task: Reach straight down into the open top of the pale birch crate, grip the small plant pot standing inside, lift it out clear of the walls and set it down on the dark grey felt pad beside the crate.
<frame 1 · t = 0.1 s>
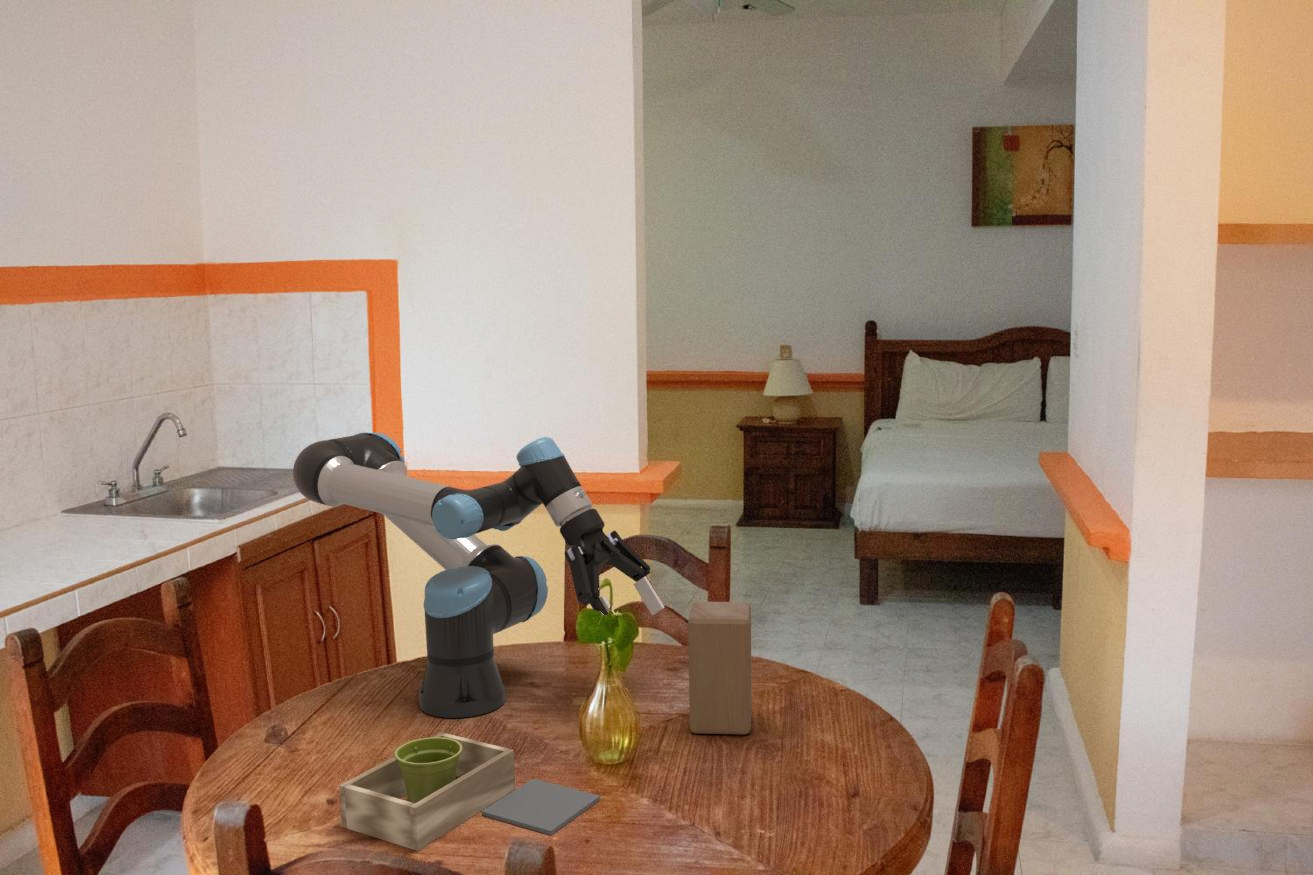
hand: (638, 621, 198), 15 cm above the table, tool tilted 35°, fingers open, 13 cm apart
crate: (431, 806, 164), on the table
pad: (541, 807, 163), on the table
plant pot: (431, 808, 164), resting in crate
wooden block: (721, 725, 192), on the table
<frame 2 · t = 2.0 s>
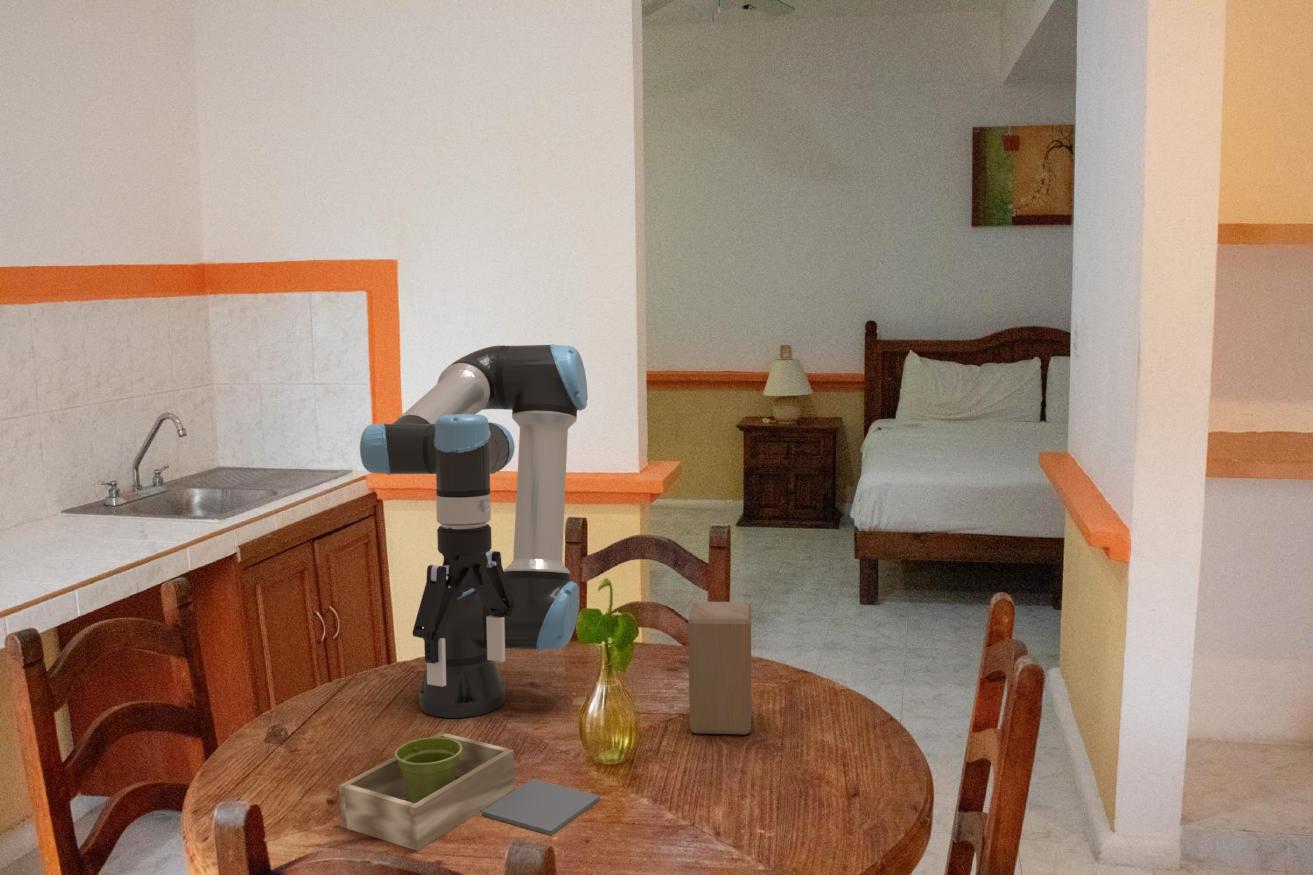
hand: (467, 672, 163), 19 cm above the table, tool pointing down, fingers open, 13 cm apart
nothing on the table moved.
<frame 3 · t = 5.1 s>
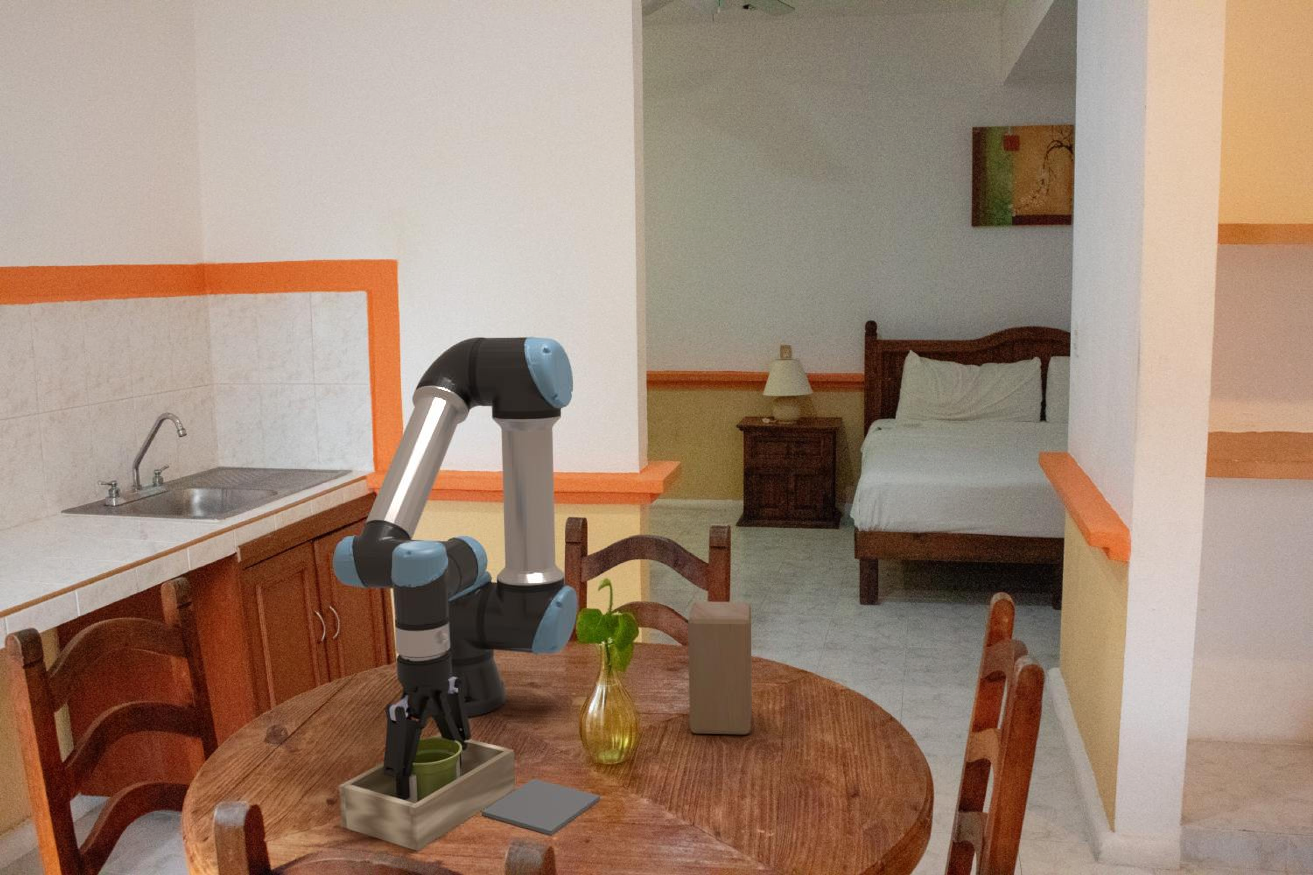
hand: (431, 804, 164), 0 cm above the table, tool pointing down, fingers closed on plant pot, 8 cm apart
plant pot: (431, 808, 164), resting in crate, touching gripper
everything else where it was.
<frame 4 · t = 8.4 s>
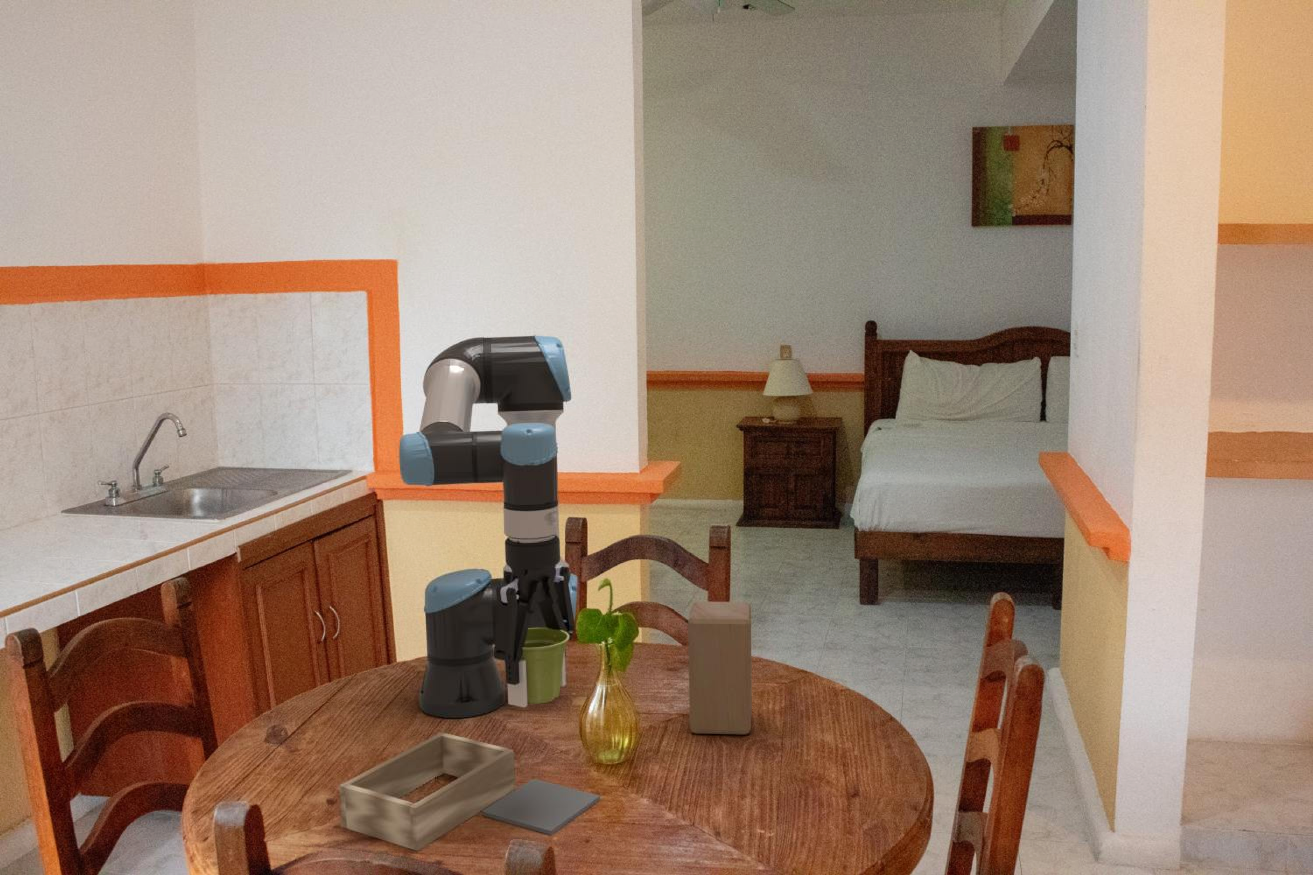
hand: (537, 693, 161), 17 cm above the table, tool pointing down, fingers closed on plant pot, 8 cm apart
plant pot: (537, 697, 161), point 16 cm above the table, touching gripper
everything else where it was.
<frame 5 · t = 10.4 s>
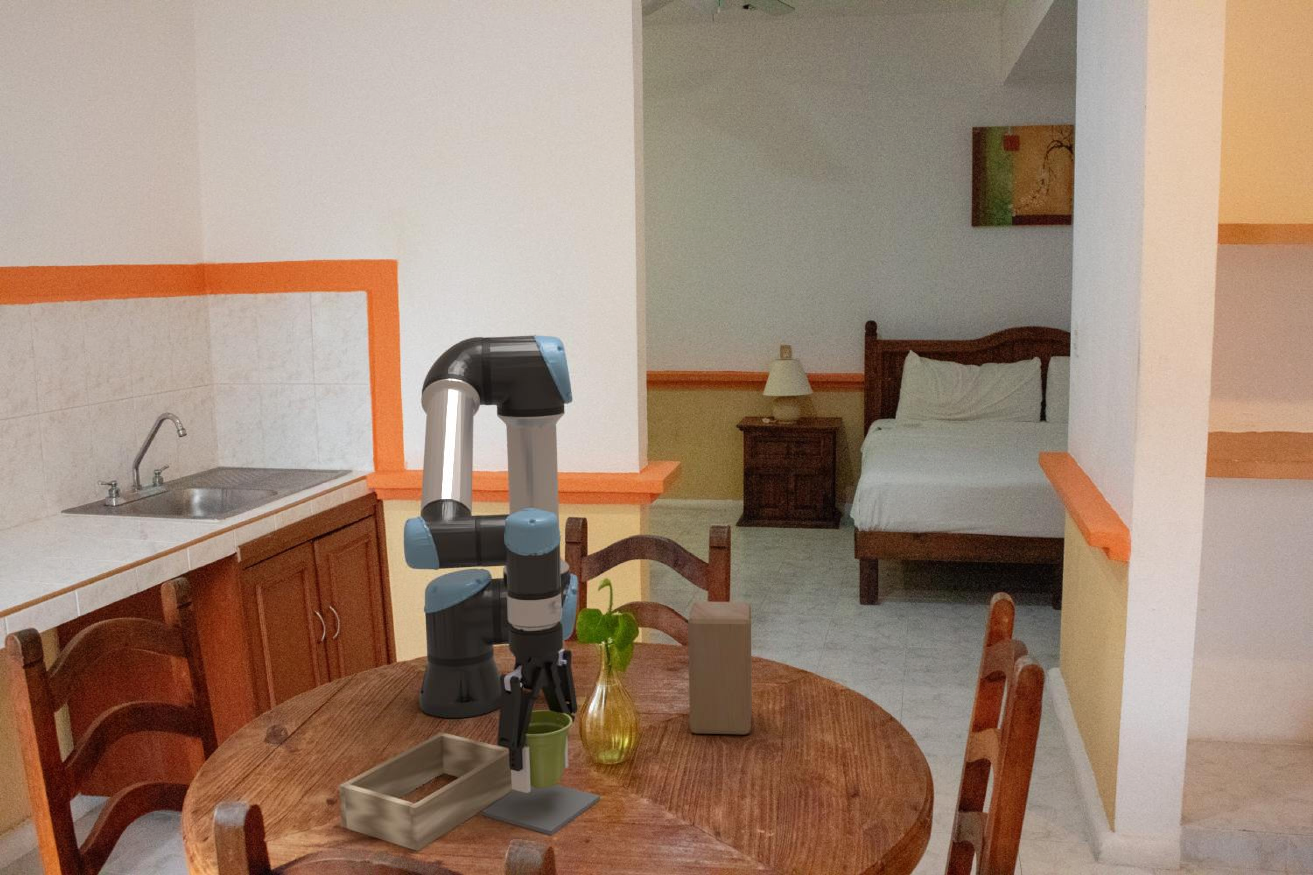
hand: (540, 777, 163), 5 cm above the table, tool pointing down, fingers closed on plant pot, 8 cm apart
plant pot: (540, 781, 163), point 4 cm above the table, touching gripper
everything else where it was.
when the fingers open (2 cm above the table, at t = 11.9 s): plant pot moves 4 cm, point 2 cm above the table.
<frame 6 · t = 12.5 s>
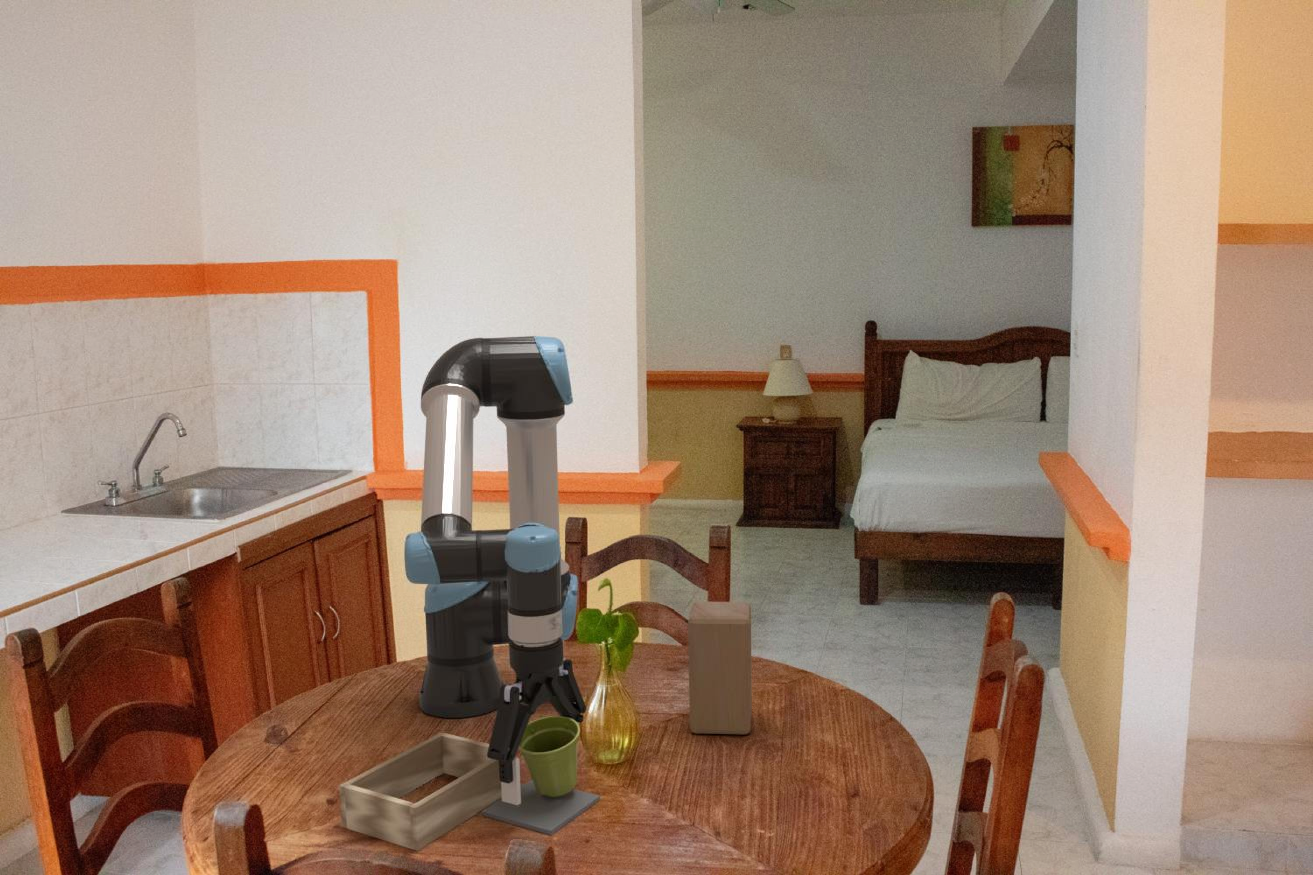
hand: (540, 783, 163), 4 cm above the table, tool pointing down, fingers open, 13 cm apart
plant pot: (556, 785, 166), point 2 cm above the table, touching gripper
everything else where it was.
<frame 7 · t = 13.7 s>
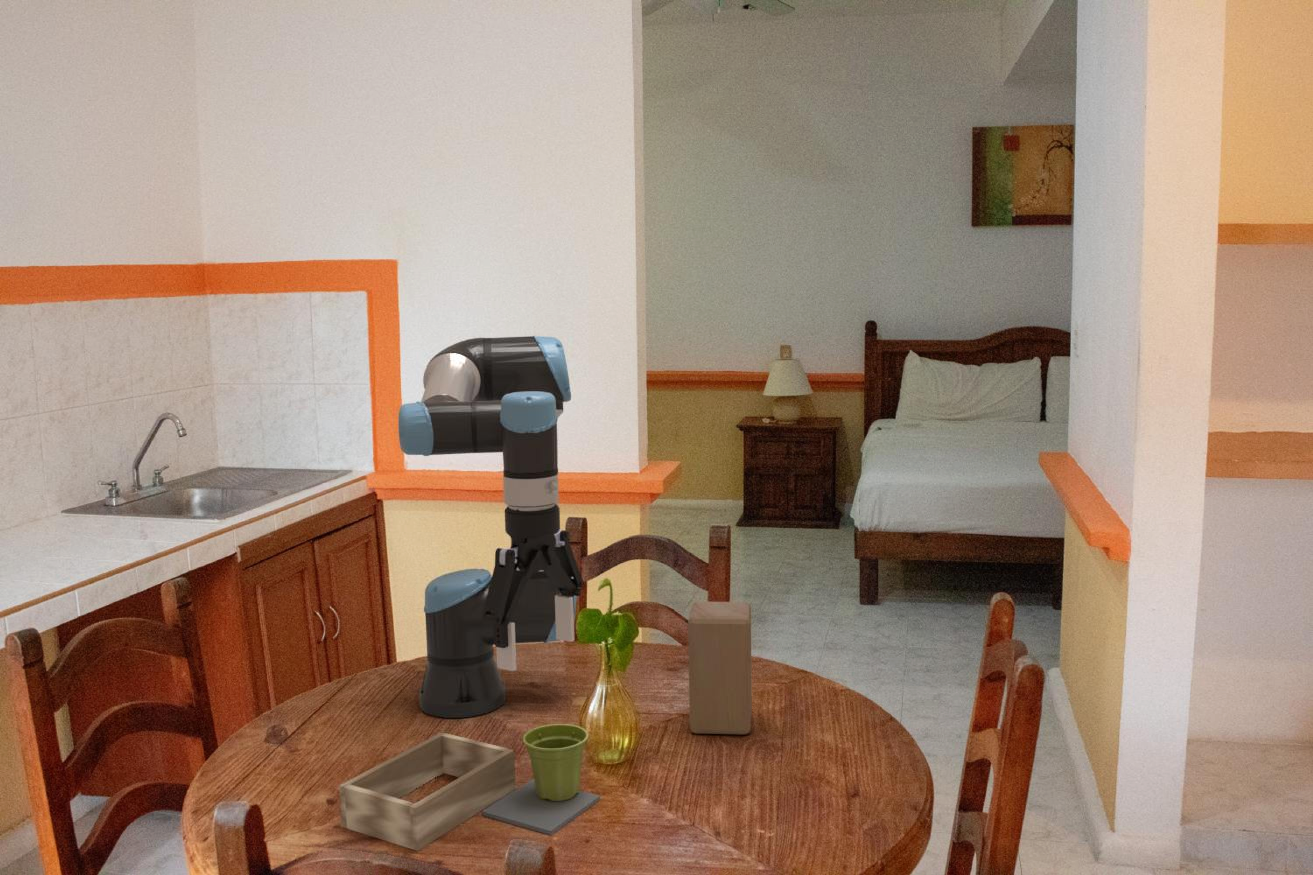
hand: (537, 654, 160), 23 cm above the table, tool pointing down, fingers open, 13 cm apart
plant pot: (557, 793, 166), resting on pad
everything else where it was.
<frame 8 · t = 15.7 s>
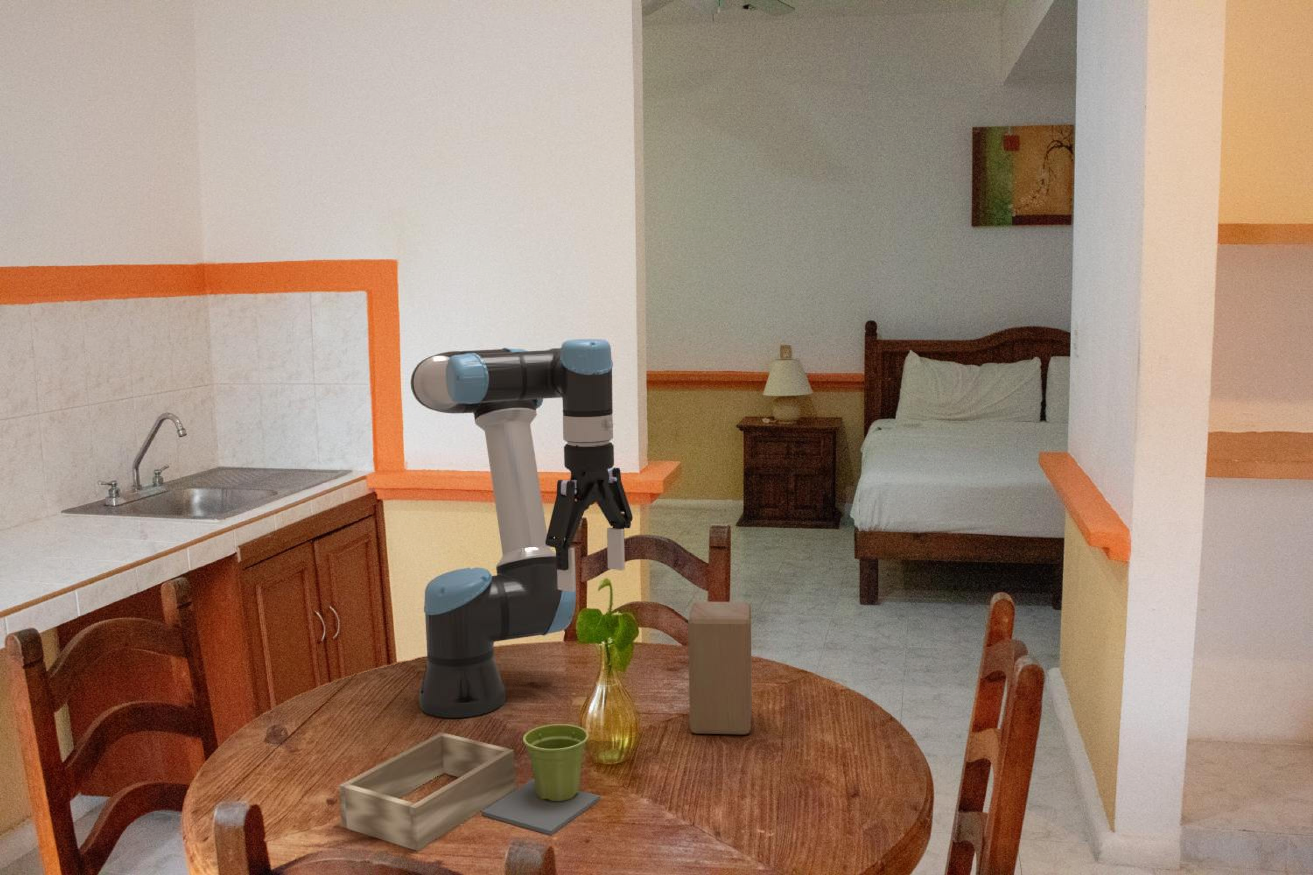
hand: (592, 579, 176), 29 cm above the table, tool pointing down, fingers open, 13 cm apart
nothing on the table moved.
at the end: plant pot inside the target area on the pad (3.9 cm from its centre), point 0.4 cm above the pad's base; plant pot tilted 0°; the gripper is holding nothing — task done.
